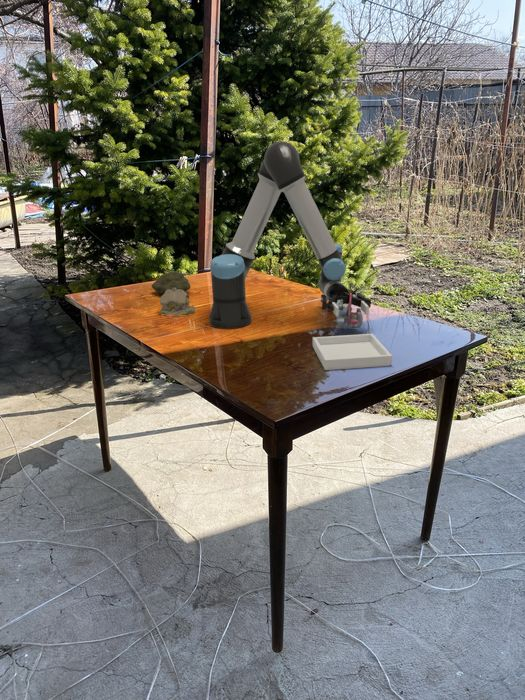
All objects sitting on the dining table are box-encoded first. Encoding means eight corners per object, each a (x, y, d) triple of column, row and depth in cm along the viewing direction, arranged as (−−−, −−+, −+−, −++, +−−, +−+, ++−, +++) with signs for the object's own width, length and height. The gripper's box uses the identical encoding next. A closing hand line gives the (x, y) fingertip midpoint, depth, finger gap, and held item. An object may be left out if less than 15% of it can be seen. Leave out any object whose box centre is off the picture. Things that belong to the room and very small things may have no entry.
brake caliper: (370, 324, 167) (348, 294, 165) (342, 343, 171) (320, 313, 168) (370, 314, 177) (349, 285, 175) (343, 331, 181) (322, 304, 179)
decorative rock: (162, 300, 221) (159, 277, 217) (149, 292, 234) (147, 270, 230) (194, 294, 228) (193, 272, 224) (181, 287, 241) (179, 266, 237)
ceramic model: (154, 316, 200) (151, 291, 196) (164, 308, 210) (162, 283, 207) (190, 317, 198) (188, 291, 194) (198, 308, 208) (196, 284, 204)
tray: (325, 370, 147) (325, 360, 146) (312, 346, 164) (312, 337, 163) (391, 365, 148) (392, 355, 147) (372, 342, 166) (372, 333, 165)
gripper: (365, 302, 190) (385, 321, 169) (306, 304, 188) (318, 324, 167) (366, 281, 187) (386, 298, 166) (306, 283, 185) (319, 301, 164)
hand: (352, 311), depth 167 cm, fingers closed on brake caliper, 9 cm apart
